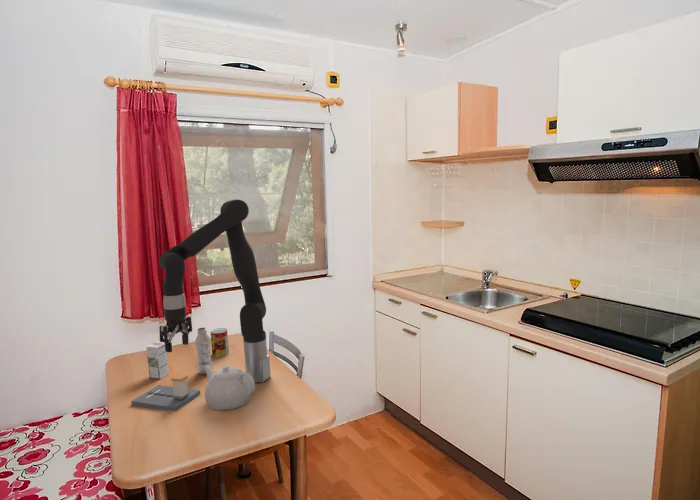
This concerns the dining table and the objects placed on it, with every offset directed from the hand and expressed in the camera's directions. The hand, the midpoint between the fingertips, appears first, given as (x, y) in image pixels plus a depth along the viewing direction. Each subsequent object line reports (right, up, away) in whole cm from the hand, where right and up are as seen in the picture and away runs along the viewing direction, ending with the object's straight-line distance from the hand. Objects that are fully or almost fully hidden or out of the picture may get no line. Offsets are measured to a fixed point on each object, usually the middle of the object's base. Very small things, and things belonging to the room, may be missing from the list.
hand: (177, 348), depth 160 cm
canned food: (+1, -15, +49) cm, 52 cm away
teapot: (+20, -20, 0) cm, 28 cm away
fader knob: (+1, -19, +1) cm, 19 cm away
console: (-6, -21, +4) cm, 22 cm away
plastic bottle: (+1, -17, +27) cm, 33 cm away
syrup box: (-18, -18, +26) cm, 36 cm away
